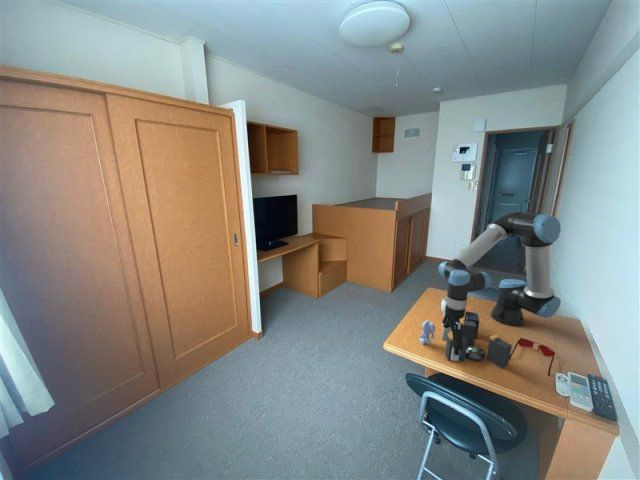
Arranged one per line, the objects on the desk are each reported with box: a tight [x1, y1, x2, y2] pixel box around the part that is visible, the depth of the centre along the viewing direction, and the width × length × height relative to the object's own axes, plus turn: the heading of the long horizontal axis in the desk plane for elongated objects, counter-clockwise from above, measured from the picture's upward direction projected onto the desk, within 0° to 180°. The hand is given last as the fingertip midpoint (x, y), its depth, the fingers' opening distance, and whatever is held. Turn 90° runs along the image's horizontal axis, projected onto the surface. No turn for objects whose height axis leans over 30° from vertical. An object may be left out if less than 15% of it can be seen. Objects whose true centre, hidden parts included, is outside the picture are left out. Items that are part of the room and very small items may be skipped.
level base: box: [465, 343, 486, 363], centre depth 120 cm, size 10×10×4 cm
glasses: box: [509, 337, 556, 377], centre depth 118 cm, size 14×16×5 cm
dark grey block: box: [445, 332, 468, 363], centre depth 117 cm, size 7×4×11 cm, turn 81°
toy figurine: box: [419, 320, 436, 345], centre depth 128 cm, size 7×6×12 cm
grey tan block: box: [459, 318, 477, 345], centre depth 129 cm, size 7×4×11 cm, turn 81°
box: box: [463, 310, 480, 340], centre depth 135 cm, size 8×6×11 cm
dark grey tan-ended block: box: [485, 333, 513, 369], centre depth 114 cm, size 7×4×11 cm, turn 26°
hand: (449, 349), depth 118 cm, fingers open, 13 cm apart
